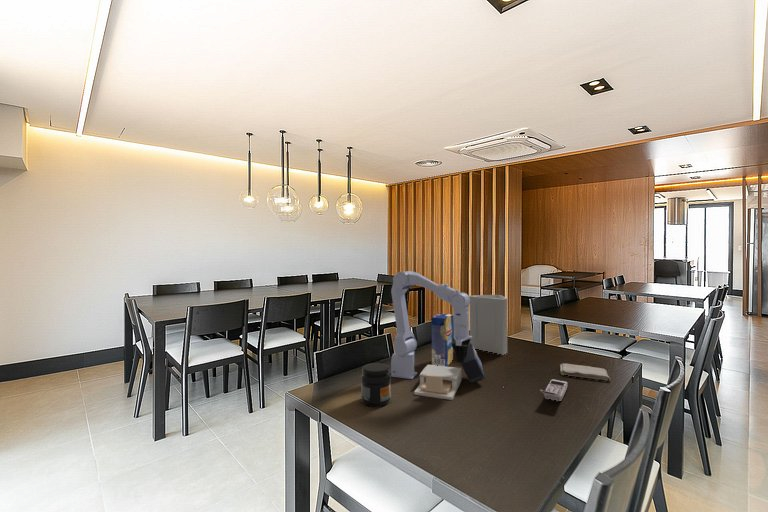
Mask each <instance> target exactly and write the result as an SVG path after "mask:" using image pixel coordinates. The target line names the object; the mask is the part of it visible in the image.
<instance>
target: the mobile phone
mask: <svg viewBox="0 0 768 512" xmlns="http://www.w3.org/2000/svg"><path fill="white" fill-rule="evenodd" d="M567 389H568V381H566V380H565V381H564V380H558V379H553V378H552V379H550V381H549V382H548V384H547V386H546V388H545V390H543V389H541V388H540V389H539V391H540V392H541V393H543V396H544V398H545V400H549V399H551V400H550V401H554V400H556V401H555V402H558V401H562V400H563V399H564V396H565V394H566V391H567Z"/></svg>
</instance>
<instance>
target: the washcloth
mask: <svg viewBox="0 0 768 512" xmlns="http://www.w3.org/2000/svg"><path fill="white" fill-rule="evenodd" d="M559 366H560V375H561V376H564V375H568V376H567V377H569V376H578V377H587V378H594V379H603V380H609V381H608V382H610V381H611V378H610V376H609V374H608V372H607V371H608V370H606V369H605V368H601V367H593V366H591V365H589V366H588V365H580V364H573V363H561V364H559Z"/></svg>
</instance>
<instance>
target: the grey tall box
mask: <svg viewBox="0 0 768 512" xmlns="http://www.w3.org/2000/svg"><path fill="white" fill-rule="evenodd" d="M469 297H470V304H469V336H472V339H471V340H470V342H469V344H472V345H473V347H474V349H479V350H483V351H482V352H484V351H488V352H487V353H489V352H493V353H492V354H494V353H497V354H496V355H499V354H501V355H500V356H505V355H507V354H508V298H507V297H505V296H504V295H501V294H478V295H475V294H474V295H470V296H469ZM479 350H478V351H479ZM506 353H507V354H506ZM504 354H505V355H504Z"/></svg>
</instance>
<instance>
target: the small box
mask: <svg viewBox="0 0 768 512" xmlns="http://www.w3.org/2000/svg"><path fill="white" fill-rule="evenodd" d="M459 365H460V366H461V369H463V371H464V373H465V375H466V377H467V379H468V380H469V381H468V382H469V383H470V384H473V383H477V382H480V381H483V380H485V379H486V376H485V373H484V372H485V371H484V368H483V363H482V361H481V359H480V357H479V355H478V353H477V350H475V349H474V347H473V345H472V344H470V343H469V345H468V349H467V355H466V357H464V362H463V363H459Z"/></svg>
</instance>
